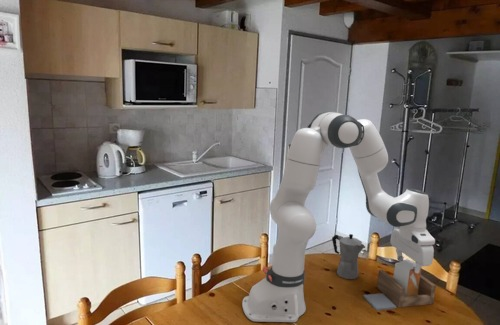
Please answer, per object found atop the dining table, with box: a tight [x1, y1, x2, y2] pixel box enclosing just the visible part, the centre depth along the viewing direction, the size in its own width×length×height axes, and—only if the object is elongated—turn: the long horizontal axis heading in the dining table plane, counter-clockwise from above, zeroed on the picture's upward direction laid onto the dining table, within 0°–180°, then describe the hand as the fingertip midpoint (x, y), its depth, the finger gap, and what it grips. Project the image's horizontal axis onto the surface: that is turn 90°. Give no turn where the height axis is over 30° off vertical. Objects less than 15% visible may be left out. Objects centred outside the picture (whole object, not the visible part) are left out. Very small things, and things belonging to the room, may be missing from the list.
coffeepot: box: [331, 233, 366, 280], centre depth 153 cm, size 15×9×18 cm, turn 44°
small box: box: [392, 258, 423, 297], centre depth 138 cm, size 8×6×13 cm
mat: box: [362, 292, 398, 311], centre depth 133 cm, size 8×9×1 cm
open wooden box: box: [376, 269, 437, 308], centre depth 138 cm, size 15×14×8 cm
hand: (407, 266), depth 137 cm, fingers open, 8 cm apart
